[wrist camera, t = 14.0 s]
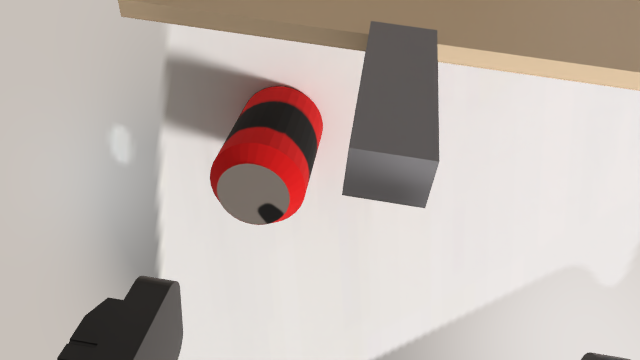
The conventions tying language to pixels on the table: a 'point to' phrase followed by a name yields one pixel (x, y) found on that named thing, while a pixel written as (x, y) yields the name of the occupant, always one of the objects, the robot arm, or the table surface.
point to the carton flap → (426, 61)
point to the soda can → (268, 157)
